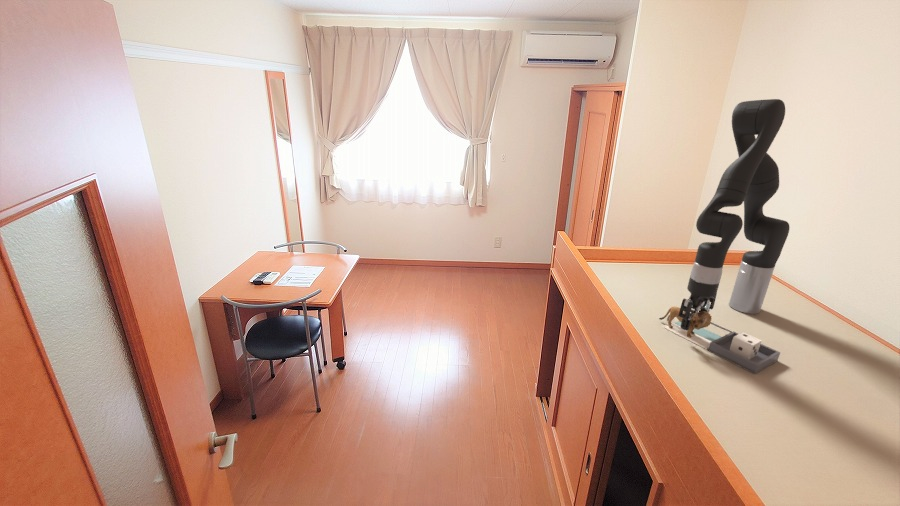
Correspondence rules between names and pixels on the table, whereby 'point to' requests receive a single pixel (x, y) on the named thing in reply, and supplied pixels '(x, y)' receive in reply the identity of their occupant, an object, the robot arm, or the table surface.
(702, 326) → the lion figurine
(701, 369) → the table surface
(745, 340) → the die
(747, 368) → the dice tray
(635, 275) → the table surface
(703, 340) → the track
